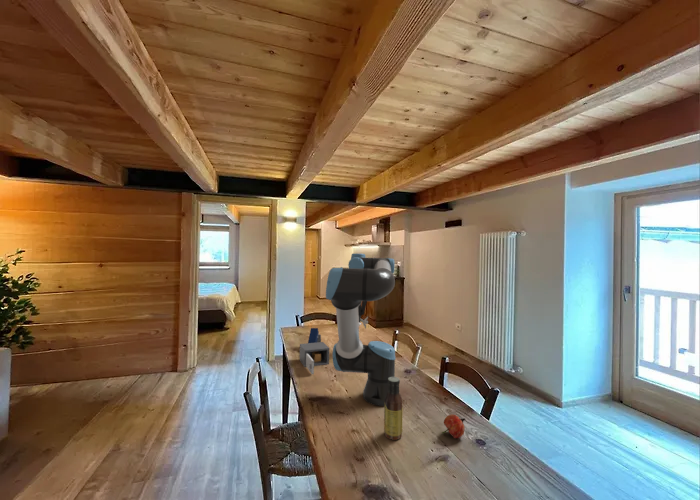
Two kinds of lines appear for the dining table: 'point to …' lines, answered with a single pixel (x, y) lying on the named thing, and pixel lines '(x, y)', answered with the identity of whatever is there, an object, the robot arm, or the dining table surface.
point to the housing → (315, 353)
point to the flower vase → (363, 322)
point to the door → (309, 363)
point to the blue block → (314, 336)
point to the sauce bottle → (393, 410)
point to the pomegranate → (454, 425)
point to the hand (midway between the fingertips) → (356, 328)
